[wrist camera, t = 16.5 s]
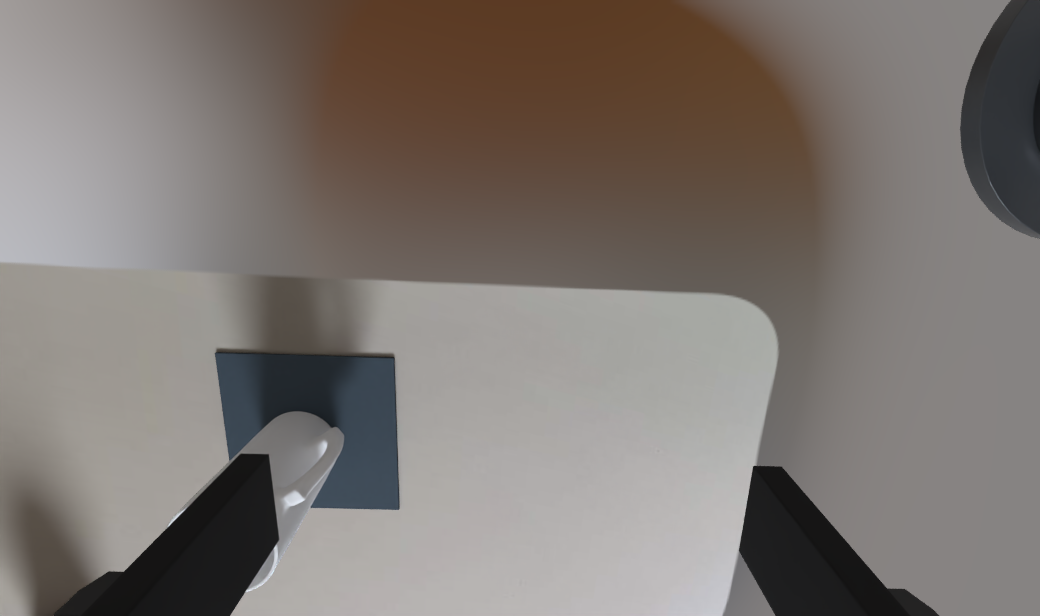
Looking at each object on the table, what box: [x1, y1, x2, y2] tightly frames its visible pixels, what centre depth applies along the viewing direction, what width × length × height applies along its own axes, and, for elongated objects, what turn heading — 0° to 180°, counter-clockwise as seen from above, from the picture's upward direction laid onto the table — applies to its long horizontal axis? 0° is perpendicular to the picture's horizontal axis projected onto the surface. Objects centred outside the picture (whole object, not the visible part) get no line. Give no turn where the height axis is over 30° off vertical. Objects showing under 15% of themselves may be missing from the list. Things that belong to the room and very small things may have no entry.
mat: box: [215, 352, 399, 510], centre depth 42 cm, size 14×14×1 cm
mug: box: [166, 411, 344, 592], centre depth 36 cm, size 10×7×12 cm, turn 122°
